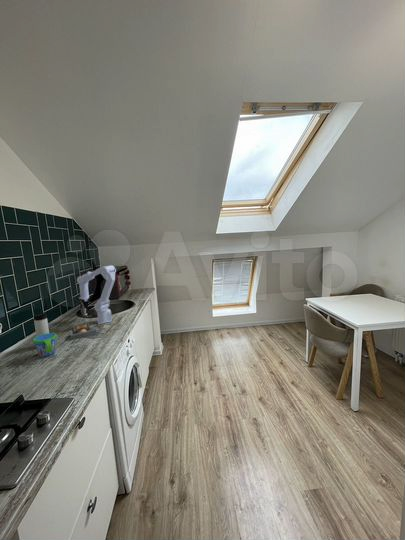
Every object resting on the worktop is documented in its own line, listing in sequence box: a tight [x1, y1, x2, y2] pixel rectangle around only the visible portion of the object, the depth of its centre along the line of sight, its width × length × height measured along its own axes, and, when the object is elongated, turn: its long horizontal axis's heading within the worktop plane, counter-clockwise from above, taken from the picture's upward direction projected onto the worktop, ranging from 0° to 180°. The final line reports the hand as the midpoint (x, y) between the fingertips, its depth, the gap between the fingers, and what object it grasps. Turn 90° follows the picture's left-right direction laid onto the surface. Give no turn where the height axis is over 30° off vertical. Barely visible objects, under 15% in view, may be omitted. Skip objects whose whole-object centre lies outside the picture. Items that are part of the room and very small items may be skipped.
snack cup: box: [32, 332, 58, 358], centre depth 124 cm, size 16×10×10 cm
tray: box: [69, 325, 97, 341], centre depth 149 cm, size 14×9×3 cm, turn 122°
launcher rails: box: [72, 322, 92, 334], centre depth 160 cm, size 10×13×1 cm
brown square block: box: [76, 323, 89, 333], centre depth 155 cm, size 6×6×3 cm
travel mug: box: [33, 312, 50, 337], centre depth 134 cm, size 6×7×20 cm
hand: (86, 308), depth 176 cm, fingers closed
